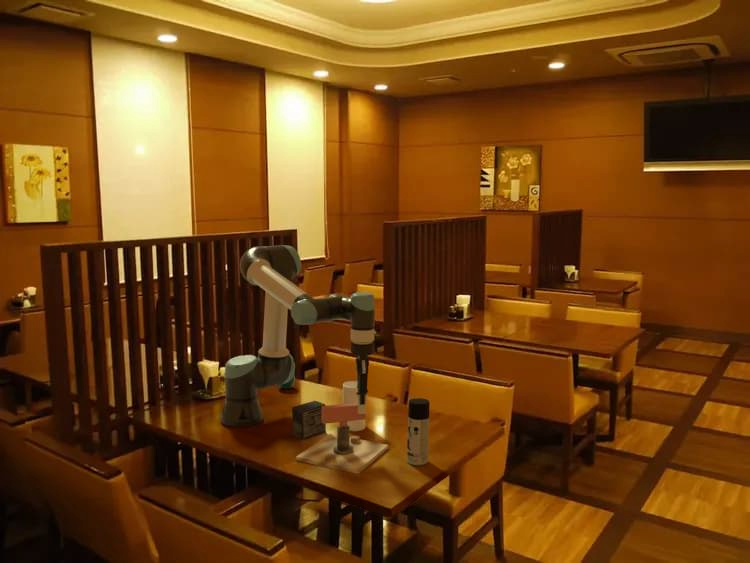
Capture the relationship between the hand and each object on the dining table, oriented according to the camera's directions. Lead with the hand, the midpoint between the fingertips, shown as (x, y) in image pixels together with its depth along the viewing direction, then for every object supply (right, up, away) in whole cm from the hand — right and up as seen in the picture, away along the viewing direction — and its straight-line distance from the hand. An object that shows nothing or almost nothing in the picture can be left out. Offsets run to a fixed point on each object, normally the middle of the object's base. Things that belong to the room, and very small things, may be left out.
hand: (361, 412), depth 205 cm
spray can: (+18, -15, -3) cm, 23 cm away
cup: (-3, -11, +26) cm, 28 cm away
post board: (-6, -14, +2) cm, 15 cm away
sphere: (-34, -4, +70) cm, 78 cm away
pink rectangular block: (-6, -4, 0) cm, 7 cm away
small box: (-19, -11, +19) cm, 29 cm away
